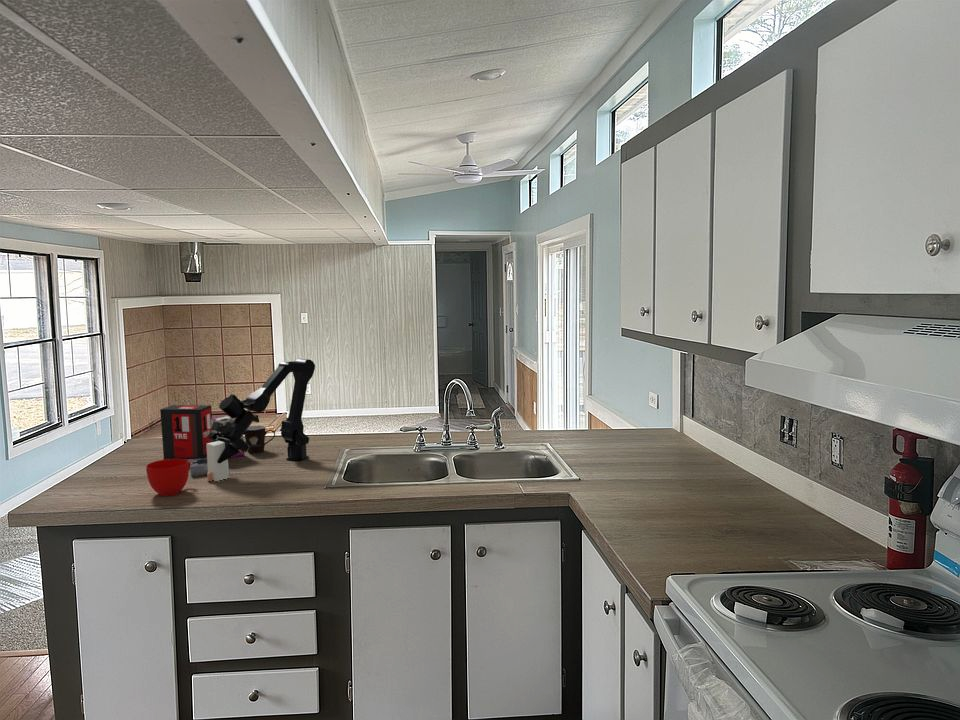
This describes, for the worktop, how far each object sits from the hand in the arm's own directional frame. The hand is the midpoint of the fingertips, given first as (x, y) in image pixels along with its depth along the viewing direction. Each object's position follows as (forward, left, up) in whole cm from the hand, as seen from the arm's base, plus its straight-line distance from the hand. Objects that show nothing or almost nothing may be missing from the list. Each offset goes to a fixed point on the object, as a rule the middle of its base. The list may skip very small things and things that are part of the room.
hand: (213, 461), depth 246 cm
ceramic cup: (+5, +15, -7) cm, 17 cm away
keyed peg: (0, -1, -7) cm, 7 cm away
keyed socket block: (+12, -9, -7) cm, 16 cm away
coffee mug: (+11, -38, -7) cm, 40 cm away
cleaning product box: (+34, -24, -7) cm, 42 cm away
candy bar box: (+17, -27, -7) cm, 33 cm away
